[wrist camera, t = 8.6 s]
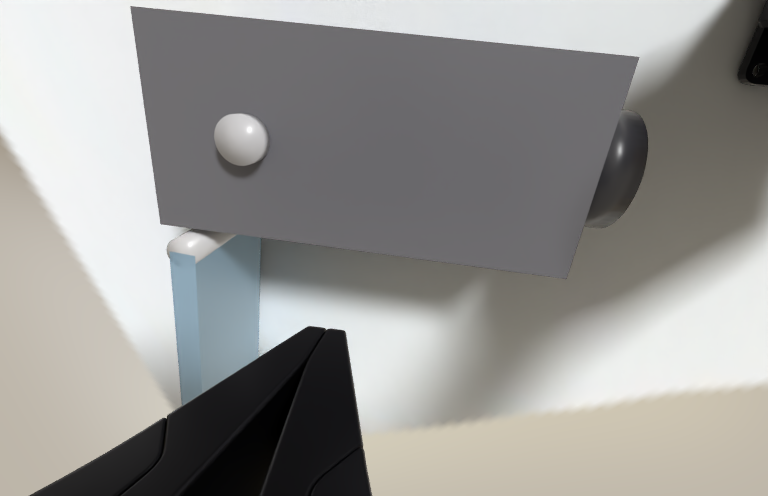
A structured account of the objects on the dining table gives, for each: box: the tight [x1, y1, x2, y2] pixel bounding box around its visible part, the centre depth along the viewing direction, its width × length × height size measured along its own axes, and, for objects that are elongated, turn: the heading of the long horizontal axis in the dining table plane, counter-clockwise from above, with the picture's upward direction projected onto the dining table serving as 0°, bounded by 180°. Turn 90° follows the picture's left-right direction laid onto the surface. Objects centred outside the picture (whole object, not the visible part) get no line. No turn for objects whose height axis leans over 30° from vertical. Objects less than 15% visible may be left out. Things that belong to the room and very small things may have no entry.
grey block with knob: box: [130, 6, 648, 279], centre depth 14 cm, size 17×7×7 cm, turn 84°
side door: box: [167, 229, 261, 406], centre depth 19 cm, size 15×2×6 cm, turn 171°
